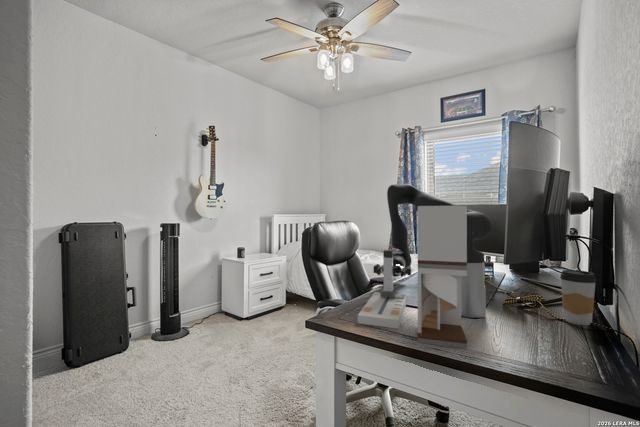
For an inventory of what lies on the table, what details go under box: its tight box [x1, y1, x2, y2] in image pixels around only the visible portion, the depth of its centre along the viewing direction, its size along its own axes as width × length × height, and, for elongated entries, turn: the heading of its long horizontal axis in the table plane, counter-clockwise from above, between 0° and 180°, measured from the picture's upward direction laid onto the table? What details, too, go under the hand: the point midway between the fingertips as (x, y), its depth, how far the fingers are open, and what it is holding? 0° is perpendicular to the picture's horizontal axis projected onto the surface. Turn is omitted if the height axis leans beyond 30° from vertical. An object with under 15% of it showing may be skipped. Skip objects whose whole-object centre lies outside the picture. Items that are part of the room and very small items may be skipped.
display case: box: [417, 205, 468, 349], centre depth 81 cm, size 11×11×35 cm
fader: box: [380, 249, 397, 298], centre depth 109 cm, size 5×4×16 cm
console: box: [357, 291, 408, 330], centre depth 102 cm, size 12×28×3 cm, turn 159°
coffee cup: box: [560, 269, 597, 326], centre depth 91 cm, size 8×8×15 cm
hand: (389, 273), depth 113 cm, fingers open, 8 cm apart
